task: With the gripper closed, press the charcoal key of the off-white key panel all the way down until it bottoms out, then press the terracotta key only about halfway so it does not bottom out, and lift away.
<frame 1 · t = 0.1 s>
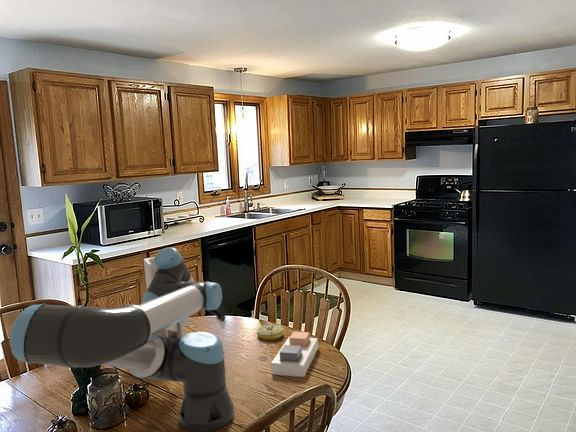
hand: (205, 324, 158), 15 cm above the table, tool tilted 35°, fingers open, 13 cm apart
display case: (168, 346, 179), on the table
decorated donut: (270, 336, 184), on the table
key panel: (296, 360, 160), on the table
charcoal key: (290, 353, 154), point 5 cm above the table, slide at 0.0 cm
terracotta key: (299, 339, 165), point 6 cm above the table, slide at 0.0 cm
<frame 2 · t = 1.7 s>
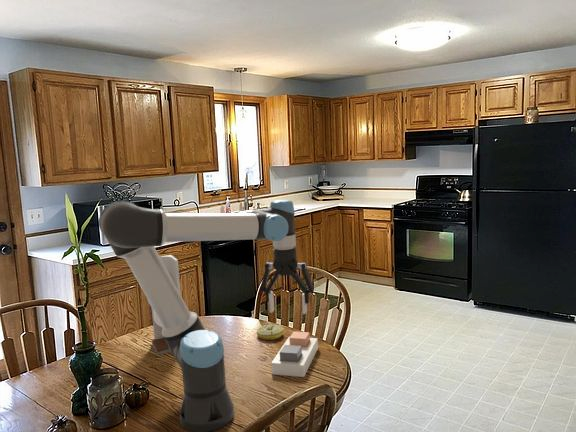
hand: (288, 311, 152), 20 cm above the table, tool pointing down, fingers open, 11 cm apart
nothing on the table moved.
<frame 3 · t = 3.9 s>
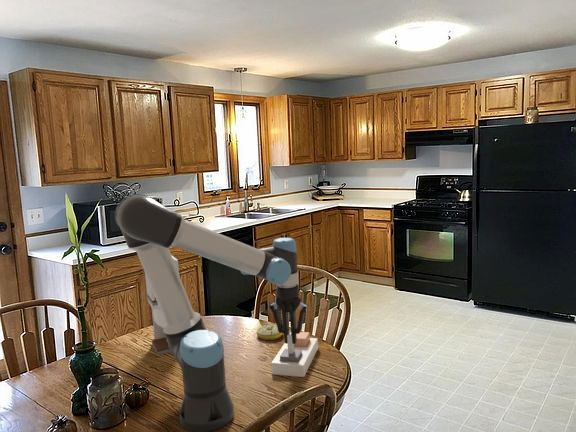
hand: (291, 352, 154), 6 cm above the table, tool pointing down, fingers closed
charcoal key: (291, 357, 154), point 4 cm above the table, slide at 1.5 cm, touching gripper
everything else where it was.
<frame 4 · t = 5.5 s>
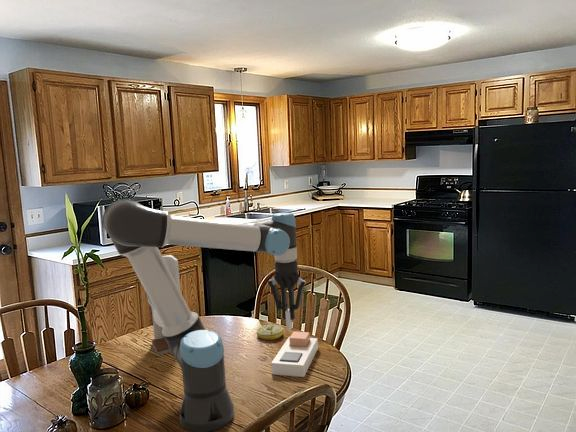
hand: (289, 328, 153), 14 cm above the table, tool pointing down, fingers closed
charcoal key: (291, 360, 154), point 3 cm above the table, slide at 2.5 cm
everything else where it was.
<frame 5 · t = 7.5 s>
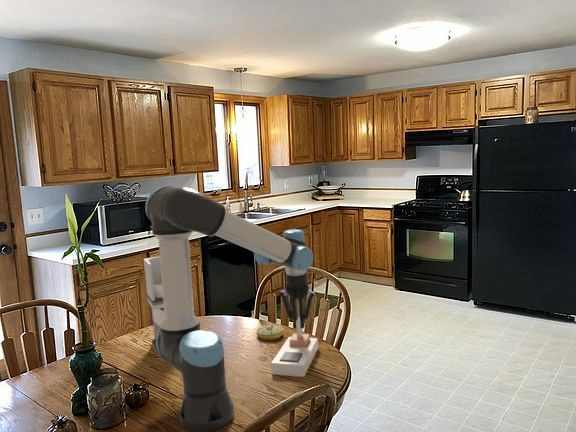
hand: (299, 336, 165), 7 cm above the table, tool pointing down, fingers closed
terracotta key: (299, 340, 165), point 5 cm above the table, slide at 0.7 cm, touching gripper
everything else where it was.
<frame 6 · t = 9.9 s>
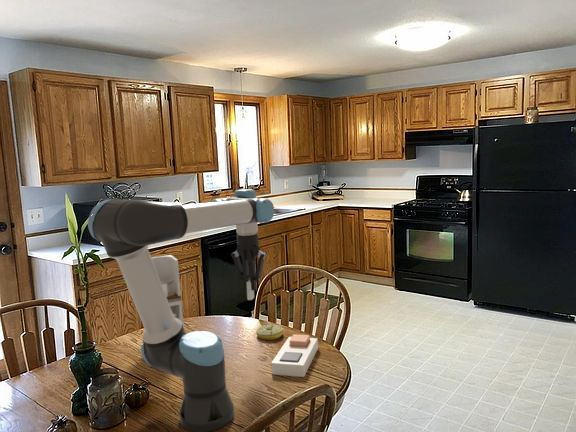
hand: (250, 298, 162), 22 cm above the table, tool pointing down, fingers closed
terracotta key: (299, 341, 166), point 4 cm above the table, slide at 1.1 cm
everything else where it was.
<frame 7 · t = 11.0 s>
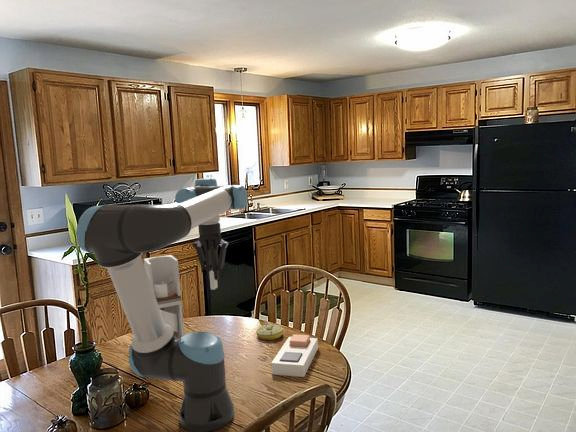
hand: (214, 288, 162), 26 cm above the table, tool pointing down, fingers closed
nothing on the table moved.
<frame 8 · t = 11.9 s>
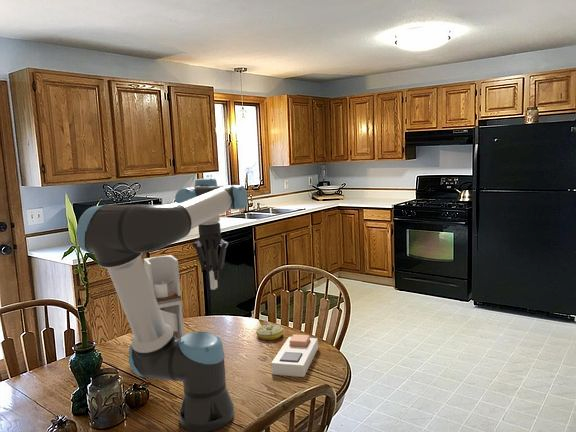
hand: (214, 288, 162), 26 cm above the table, tool pointing down, fingers closed
nothing on the table moved.
at the end: charcoal key slide at 2.5 cm; terracotta key slide at 1.1 cm; decorated donut moved 0.5 cm from its start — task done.
